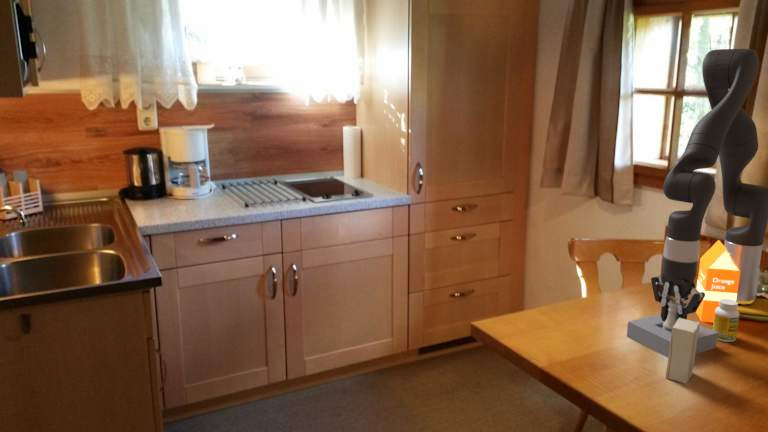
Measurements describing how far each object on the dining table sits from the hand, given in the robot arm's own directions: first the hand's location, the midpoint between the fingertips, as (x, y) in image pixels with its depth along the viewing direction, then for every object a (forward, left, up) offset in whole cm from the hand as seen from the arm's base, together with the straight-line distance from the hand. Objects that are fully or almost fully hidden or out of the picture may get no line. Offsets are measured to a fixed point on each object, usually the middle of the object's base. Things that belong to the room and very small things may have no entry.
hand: (672, 323), depth 152 cm
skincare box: (+12, +13, -5) cm, 18 cm away
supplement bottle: (-14, +4, -5) cm, 15 cm away
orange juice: (-23, -6, -5) cm, 24 cm away
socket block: (0, 0, -5) cm, 5 cm away
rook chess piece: (0, 0, -2) cm, 2 cm away
